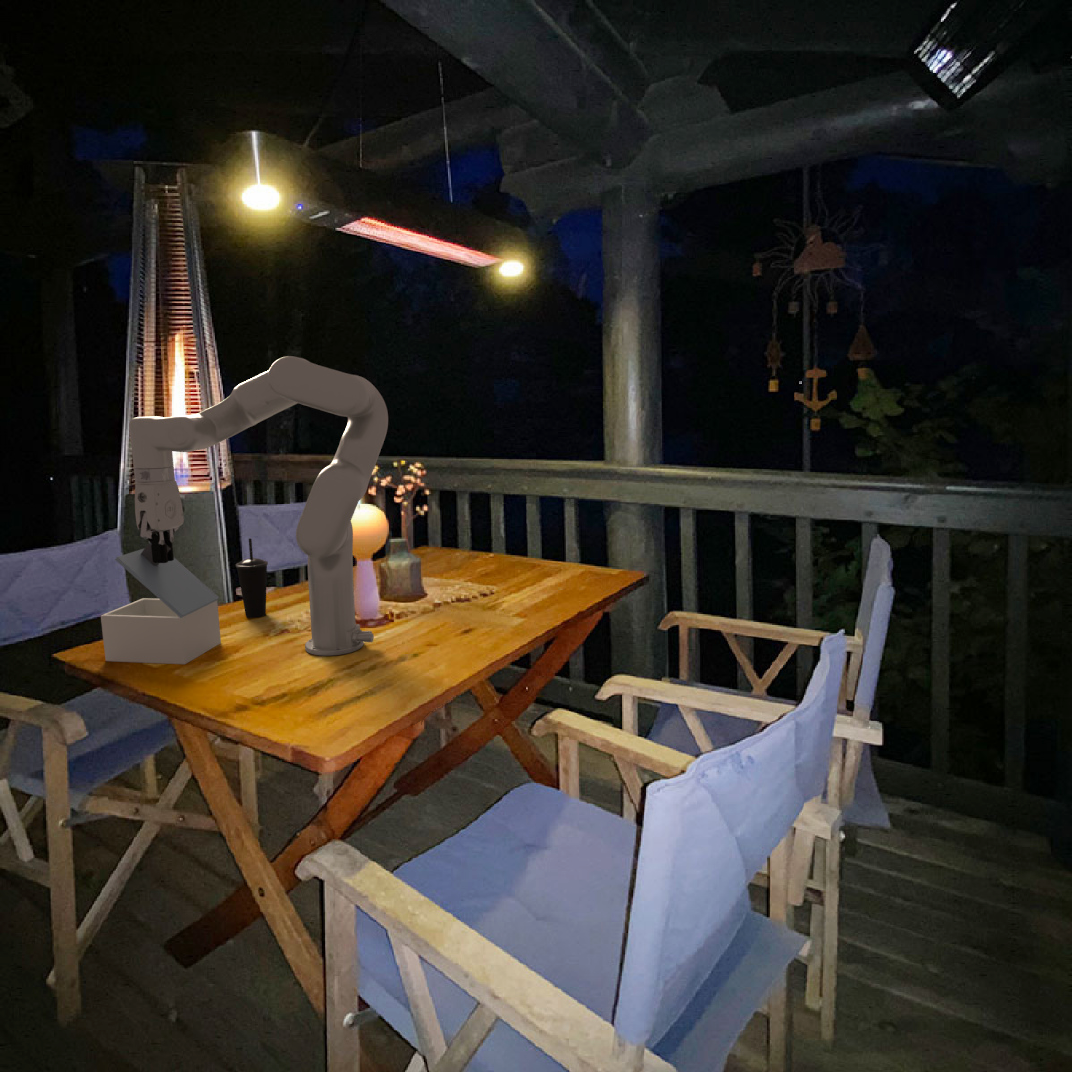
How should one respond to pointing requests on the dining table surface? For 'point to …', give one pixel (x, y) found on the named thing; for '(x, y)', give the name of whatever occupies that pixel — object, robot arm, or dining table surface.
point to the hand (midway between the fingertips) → (163, 561)
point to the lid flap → (168, 581)
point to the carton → (158, 633)
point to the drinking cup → (253, 584)
